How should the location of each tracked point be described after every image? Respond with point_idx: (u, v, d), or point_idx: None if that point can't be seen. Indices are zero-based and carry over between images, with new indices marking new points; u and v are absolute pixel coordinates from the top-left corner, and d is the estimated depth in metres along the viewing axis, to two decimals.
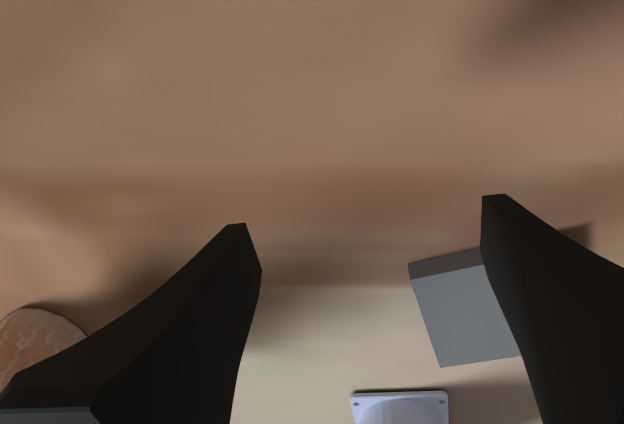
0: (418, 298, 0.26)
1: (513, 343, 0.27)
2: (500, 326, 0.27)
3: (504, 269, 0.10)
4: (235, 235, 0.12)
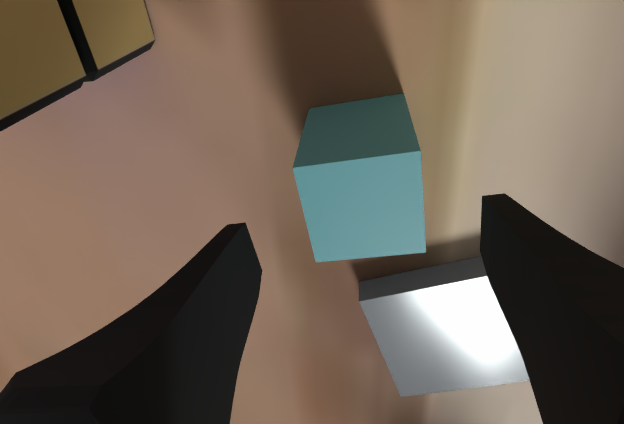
0: (427, 392, 0.26)
1: None
2: (482, 337, 0.22)
3: (504, 269, 0.10)
4: (235, 235, 0.12)
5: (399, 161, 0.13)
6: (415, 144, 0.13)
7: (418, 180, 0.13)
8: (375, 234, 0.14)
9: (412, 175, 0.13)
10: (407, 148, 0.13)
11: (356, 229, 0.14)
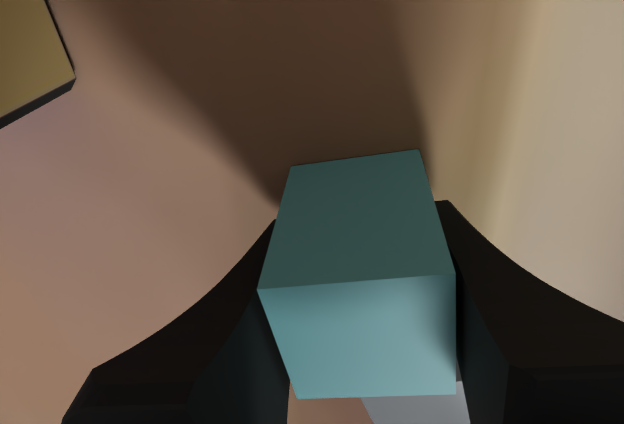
0: None
1: None
2: None
3: None
4: None
5: (420, 286, 0.08)
6: (445, 257, 0.08)
7: (449, 310, 0.08)
8: (383, 372, 0.10)
9: (441, 303, 0.08)
10: (434, 264, 0.08)
11: (355, 365, 0.10)
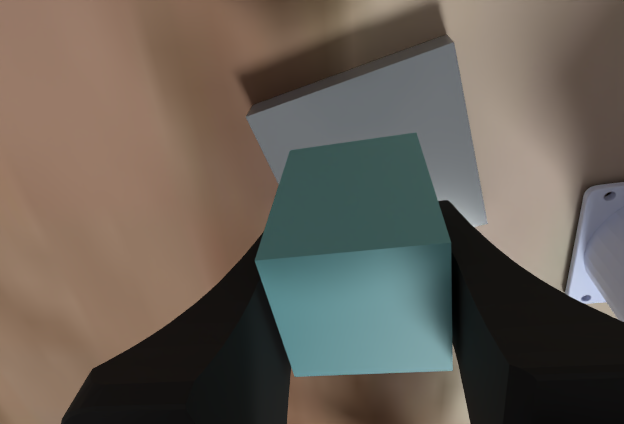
0: None
1: (437, 141, 0.18)
2: None
3: None
4: None
5: (416, 255, 0.08)
6: (441, 228, 0.08)
7: (445, 281, 0.08)
8: (379, 346, 0.10)
9: (437, 274, 0.08)
10: (430, 234, 0.08)
11: (352, 340, 0.10)
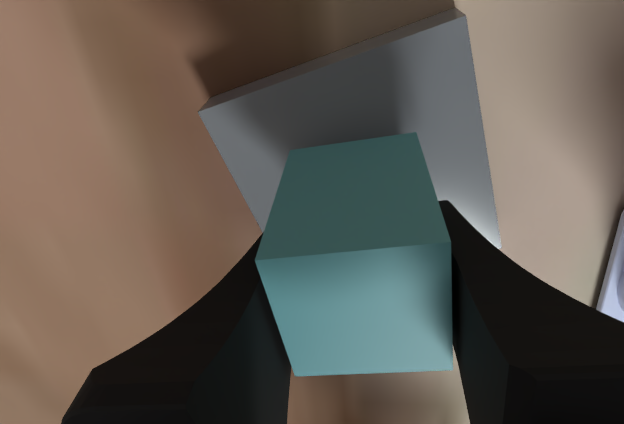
0: None
1: (440, 145, 0.14)
2: None
3: None
4: None
5: (416, 255, 0.08)
6: (441, 227, 0.08)
7: (445, 281, 0.08)
8: (380, 346, 0.10)
9: (436, 273, 0.08)
10: (430, 234, 0.08)
11: (352, 340, 0.10)
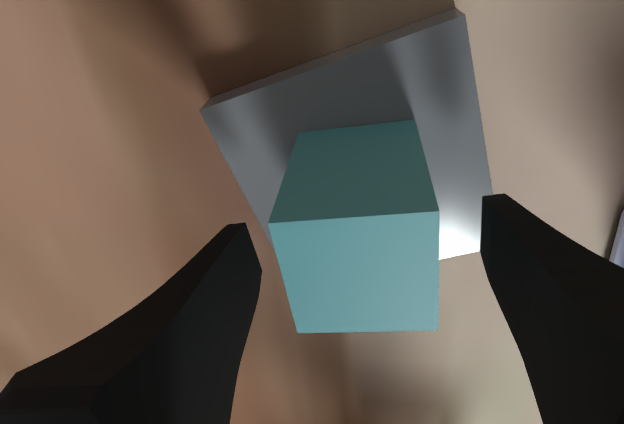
0: None
1: (440, 144, 0.14)
2: None
3: (504, 269, 0.10)
4: (235, 235, 0.12)
5: (409, 223, 0.09)
6: (431, 200, 0.10)
7: (434, 247, 0.10)
8: (374, 306, 0.11)
9: (427, 240, 0.10)
10: (422, 204, 0.09)
11: (350, 300, 0.11)
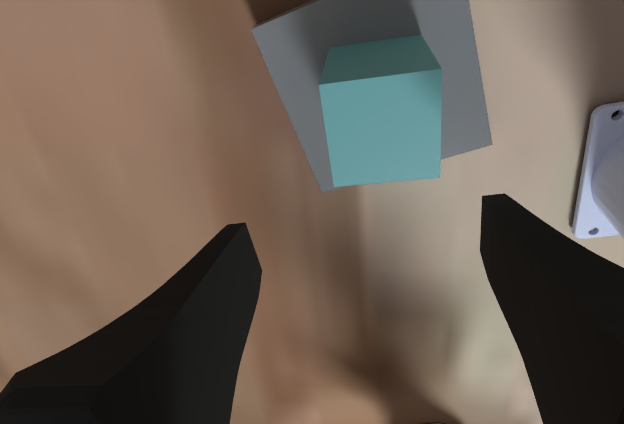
0: None
1: (441, 52, 0.18)
2: None
3: (504, 269, 0.10)
4: (235, 235, 0.12)
5: (420, 79, 0.13)
6: (436, 65, 0.13)
7: (437, 100, 0.14)
8: (393, 157, 0.15)
9: (432, 94, 0.13)
10: (429, 67, 0.13)
11: (375, 152, 0.15)
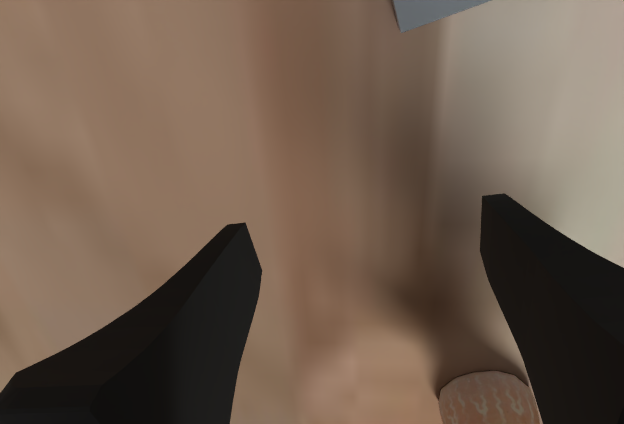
0: (440, 15, 0.17)
1: None
2: None
3: (504, 269, 0.10)
4: (235, 235, 0.12)
5: None
6: None
7: None
8: None
9: None
10: None
11: None
